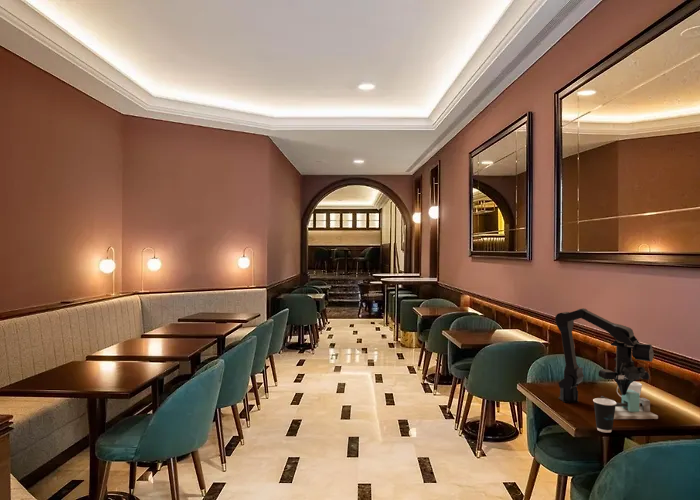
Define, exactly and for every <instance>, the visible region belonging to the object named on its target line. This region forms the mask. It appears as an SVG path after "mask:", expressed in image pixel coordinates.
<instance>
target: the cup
mask: <svg viewBox="0 0 700 500" xmlns="http://www.w3.org/2000/svg"><path fill="white" fill-rule="evenodd" d="M642 387H643V384H642V383H640V382H639V381H633V382H632V383H631V384H630V385H629V387H628V390H633V391H635V392H637V393H639V394H640V395H641V392H642ZM618 389H619V387H618V386H617V387H616V393H617V395H618V396H619V397H620V398H622V394H621V393H619V392H618V391H619V390H618Z"/></svg>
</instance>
